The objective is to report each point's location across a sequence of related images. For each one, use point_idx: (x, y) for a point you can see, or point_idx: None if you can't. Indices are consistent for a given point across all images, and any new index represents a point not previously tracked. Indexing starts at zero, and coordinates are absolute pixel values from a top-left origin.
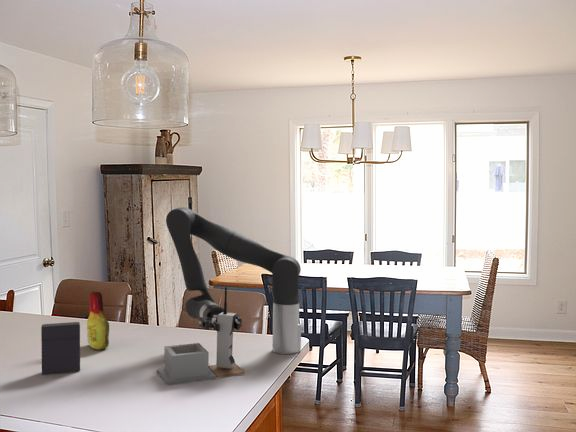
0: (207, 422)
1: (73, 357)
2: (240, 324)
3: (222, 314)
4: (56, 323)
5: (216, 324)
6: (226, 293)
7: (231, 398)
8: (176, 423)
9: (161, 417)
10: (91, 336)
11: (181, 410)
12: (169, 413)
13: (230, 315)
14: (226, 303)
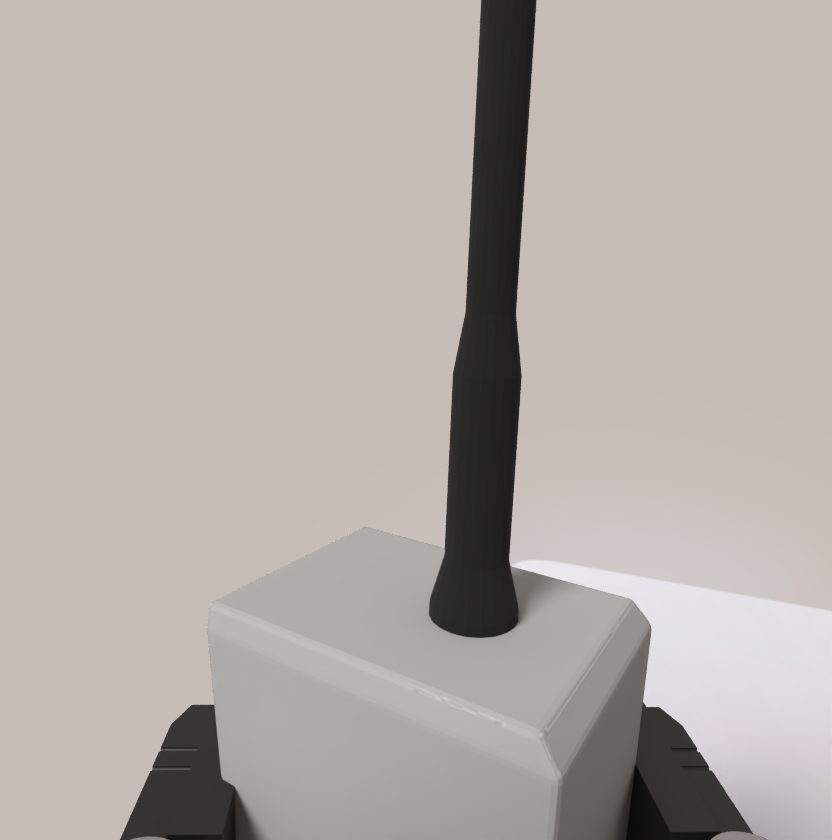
0: (605, 587)
1: None
2: (175, 740)
3: (542, 596)
4: None
5: (644, 716)
6: (486, 89)
7: None
8: (715, 604)
9: (794, 644)
10: None
11: (728, 668)
12: (774, 660)
13: (398, 540)
14: (466, 359)
